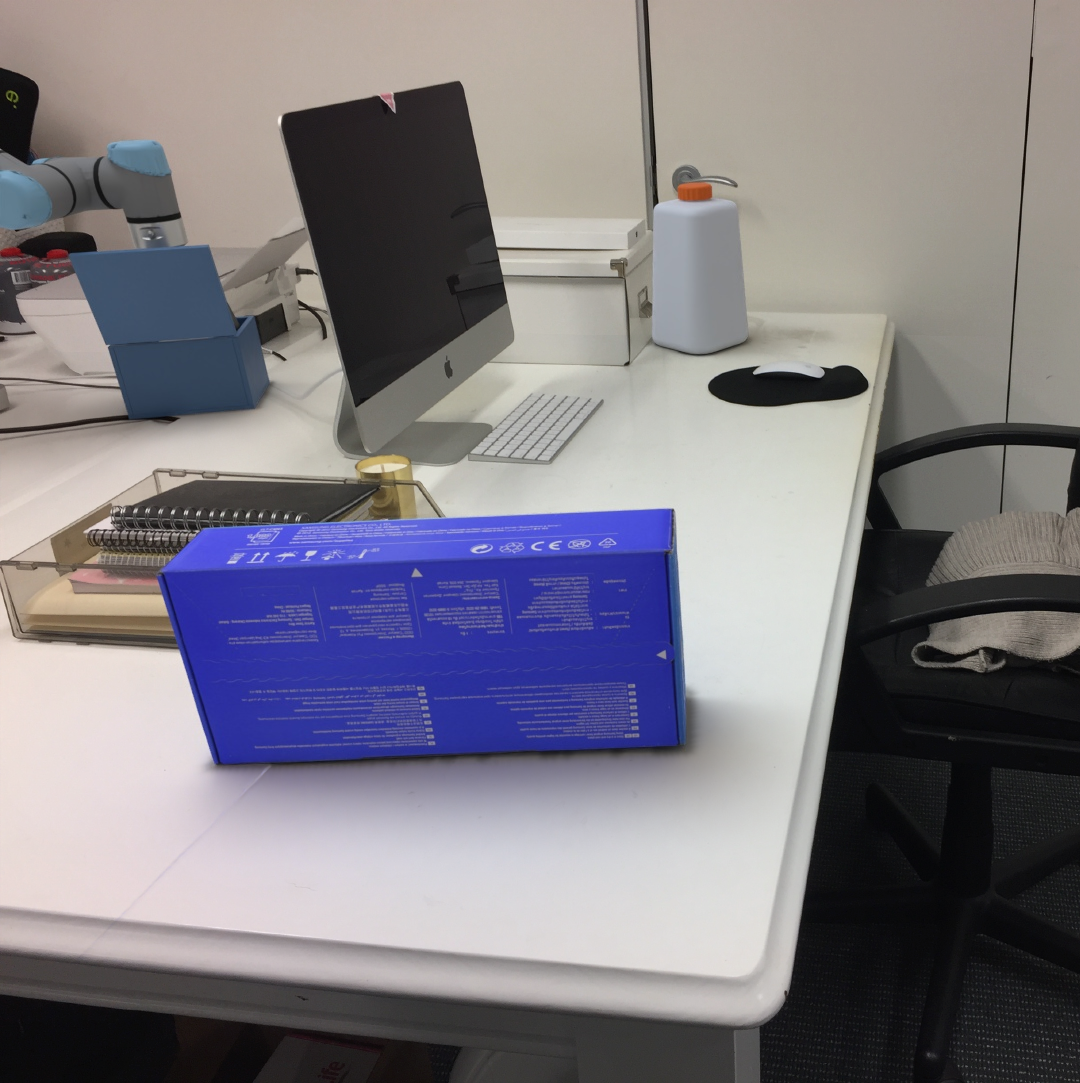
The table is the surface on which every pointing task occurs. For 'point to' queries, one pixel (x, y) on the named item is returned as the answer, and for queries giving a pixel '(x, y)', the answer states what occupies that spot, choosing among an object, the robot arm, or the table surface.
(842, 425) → the table surface
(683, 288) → the plastic bottle
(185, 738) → the table surface
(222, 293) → the case lid
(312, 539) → the blue cardboard box
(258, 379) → the case
